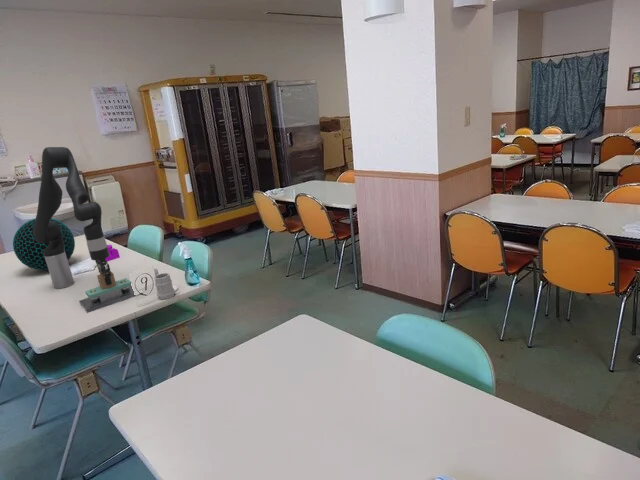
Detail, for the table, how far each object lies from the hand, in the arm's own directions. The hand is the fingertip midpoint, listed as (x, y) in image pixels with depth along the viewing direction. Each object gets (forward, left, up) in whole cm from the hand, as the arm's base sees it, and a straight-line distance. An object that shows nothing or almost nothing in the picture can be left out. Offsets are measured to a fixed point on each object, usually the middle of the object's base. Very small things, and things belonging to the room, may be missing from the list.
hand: (107, 283), depth 202 cm
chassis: (0, 0, -8) cm, 8 cm away
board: (0, 0, -3) cm, 3 cm away
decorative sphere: (-82, -11, -8) cm, 83 cm away
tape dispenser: (-71, +17, -8) cm, 74 cm away
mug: (+18, +18, -8) cm, 27 cm away
